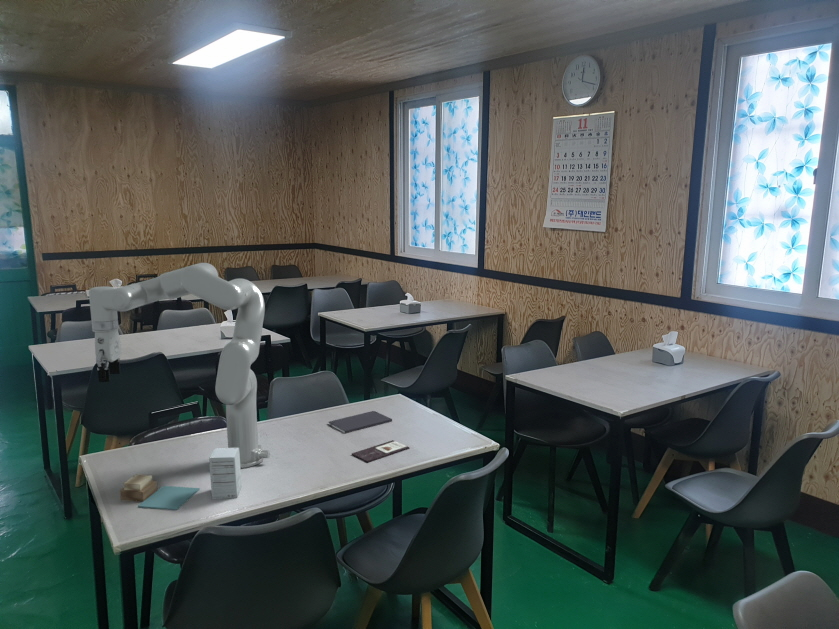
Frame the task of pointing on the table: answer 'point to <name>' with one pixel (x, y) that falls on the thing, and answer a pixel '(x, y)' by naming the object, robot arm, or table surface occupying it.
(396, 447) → the chocolate bar
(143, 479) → the birch block
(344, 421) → the notebook
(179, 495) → the rubber mat
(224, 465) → the supplement box
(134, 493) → the walnut block
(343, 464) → the table surface
